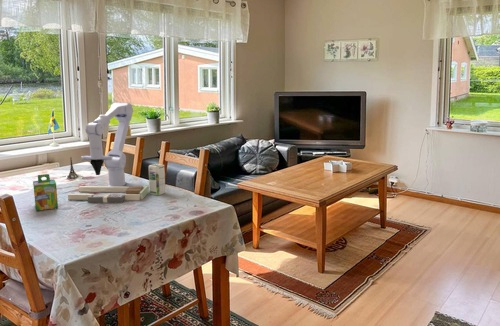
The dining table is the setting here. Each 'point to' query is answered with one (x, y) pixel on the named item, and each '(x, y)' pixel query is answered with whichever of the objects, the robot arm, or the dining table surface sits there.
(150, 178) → the syrup box
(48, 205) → the chalk box
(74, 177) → the eiffel tower figurine
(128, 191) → the walnut block
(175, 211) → the dining table surface
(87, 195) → the trap lane
